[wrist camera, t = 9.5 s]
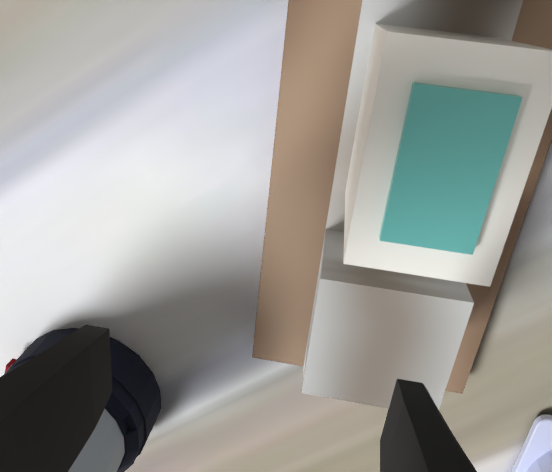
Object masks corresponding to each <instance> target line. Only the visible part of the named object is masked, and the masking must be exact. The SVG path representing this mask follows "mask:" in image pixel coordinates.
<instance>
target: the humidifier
mask: <svg viewBox="0 0 552 472" xmlns="http://www.w3.org/2000/svg"><path fill="white" fill-rule="evenodd" d="M77 330H78V329H76V328H70V329H62V330H55V331H51V332H49V333H47V334H45V335H43V336H41V337H39V338H37V339H36V340H35V341H34V342H33V343H32V344H31V345H30V346H29V347H28V348H27V349H26V350H25V352H24V353H23V354H22V355H21V356H20V357H19V358H18V359H17V360H16V359H12V360H11V361H10V362H9V363H8V364H7V365H6V369H5V374H7V373H8V372H10V371H12V370H14V369H15V368H17V367H18V366H20V365H22V364H23V363H25V362H27V361H28V360H30V359H32V358H33V357H35V356H36V355H38V354H40V353H41V352H43V351H45V350H46V349H48V348H49V347H51V346H53V345H54V344H56V343H57V342H59V341H60V340H62V339H64V338H65V337H67V336H68V335H70V334H72V333H73V332H75V331H77ZM109 338H110V337H109ZM110 355H111V373H112V393H111V395H110V398H109V400H108V402H107V404H106V407H105V409H104V411H103V413H102V415H101V417H100V419H99V421H98V423H97V425H96V428H95V429H94V431H93V433H92V434H91V436H90V438H89V439H88V441H87V442H86V444H85V446H84V447H83V449H82V450H81V452H80V454H79V455H78V457H77V458H76V460H75V462H74V463H73V465H72V466H71V468H70V469H69V471H68V472H124V471H125V470H127V469H128V468H129V467H130V466H131V465H132V464H133V463H134V461H135V459H136V457H137V456H138V455H139V454H140V453H141V451H142V449H143V447H144V445H145V443H146V441H147V438H148V436H149V434H150V432H151V430H152V428H153V426H154V424H155V421H156V419H157V416H158V414H159V412H160V409H161V395H160V389H159V387H158V384H157V382H156V379H155V377H154V374H153V372H152V371H151V370H150V369H149V368H148V366H147V365H146V364H145V363H144V361H143V360H142V359H141V358H140V357H139V355H137V354H136V353H135V352H133V351H132V350H130V349H129V348H128V347H126V346H125V345H124V344H122V343H121V342H120V341H117V340H115V339H113V338H110ZM5 374H4V375H5Z"/></svg>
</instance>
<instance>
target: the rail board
mask: <svg viewBox="0 0 552 472" xmlns="http://www.w3.org/2000/svg"><path fill="white" fill-rule="evenodd" d="M375 23H376V24H385V25H393V26H402V27H410V28H419V29H427V30H436V31H444V32H452V33H461V34H469V35H478V36H486V37H495V38H500V39H505V40H510V41H515V42H519V43H524V44H529V45H533V46H538V47H543V48H547V49H552V0H289V2H288V12H287V22H286V31H285V41H284V51H283V61H282V71H281V80H280V90H279V100H278V110H277V120H276V129H275V139H274V149H273V159H272V168H271V178H270V188H269V198H268V208H267V217H266V227H265V237H264V247H263V257H262V266H261V276H260V286H259V296H258V306H257V315H256V325H255V335H254V345H253V354H252V357H253V358H259V359H265V360H271V361H277V362H282V363H288V364H294V365H300V366H303V373H304V377H303V385H302V393H304V394H310V395H316V396H321V397H327V398H332V399H338V400H344V401H349V402H355V403H361V404H366V405H372V406H378V407H383V408H389V406H390V402H391V399H392V395H393V391H394V388H395V384H396V380H397V379H403V380H408V381H414V382H420V383H423V384H424V385H425V387H426V388H427V390H428V392H429V394H430V396H431V397H432V399H433V401H434V403H435V405H436V406H437V408H438V410H439V408H440V405H441V402H442V399H443V396H444V393H445V391H450V392H456V393H463V390H464V388H465V385H466V382H467V379H468V376H469V373H470V371H471V368H472V365H473V362H474V359H475V356H476V354H477V351H478V348H479V345H480V342H481V339H482V337H483V334H484V331H485V328H486V325H487V322H488V319H489V317H490V314H491V311H492V308H493V305H494V302H495V300H496V297H497V294H498V291H499V288H500V285H501V283H502V280H503V277H504V274H505V271H506V268H507V266H508V263H509V260H510V257H511V254H512V251H513V248H514V246H515V243H516V240H517V237H518V234H519V231H520V229H521V226H522V223H523V220H524V217H525V214H526V212H527V209H528V206H529V203H530V200H531V197H532V195H533V192H534V189H535V186H536V183H537V180H538V177H539V175H540V172H541V169H542V166H543V163H544V160H545V158H546V155H547V152H548V149H549V146H550V143H551V141H552V108H551V111H550V114H549V117H548V120H547V123H546V126H545V129H544V132H543V135H542V137H541V140H540V143H539V146H538V149H537V152H536V155H535V158H534V161H533V164H532V166H531V169H530V172H529V175H528V178H527V181H526V184H525V187H524V190H523V193H522V195H521V198H520V201H519V204H518V207H517V210H516V213H515V216H514V219H513V222H512V225H511V227H510V230H509V233H508V236H507V239H506V242H505V245H504V248H503V251H502V254H501V256H500V259H499V262H498V265H497V268H496V271H495V274H494V277H493V280H492V283H491V285H490V287H488V286H482V285H475V284H469V283H463V282H456V281H450V280H444V279H437V278H431V277H425V276H418V275H412V274H405V273H399V272H393V271H386V270H380V269H374V268H367V267H361V266H355V265H348V264H343V258H344V222H345V190H346V184H347V179H348V173H349V167H350V162H351V156H352V150H353V145H354V139H355V133H356V128H357V122H358V116H359V111H360V105H361V99H362V94H363V88H364V82H365V77H366V71H367V65H368V60H369V54H370V48H371V43H372V37H373V31H374V26H375Z"/></svg>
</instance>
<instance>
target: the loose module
mask: <svg viewBox="0 0 552 472" xmlns="http://www.w3.org/2000/svg"><path fill="white" fill-rule="evenodd" d="M551 108H552V49H547V48H543V47H538V46H533V45H529V44H524V43H519V42H515V41H510V40H505V39H500V38H495V37H486V36H478V35H469V34H461V33H452V32H444V31H436V30H427V29H419V28H410V27H402V26H393V25H385V24H376V23H375V26H374V31H373V37H372V43H371V48H370V54H369V60H368V65H367V71H366V77H365V82H364V88H363V94H362V99H361V105H360V111H359V116H358V122H357V128H356V133H355V139H354V145H353V150H352V156H351V162H350V167H349V173H348V179H347V184H346V190H345V222H344V258H343V264H348V265H355V266H361V267H367V268H374V269H380V270H386V271H393V272H399V273H405V274H412V275H418V276H425V277H431V278H437V279H444V280H450V281H456V282H463V283H469V284H475V285H482V286H488V287H490V285H491V283H492V280H493V277H494V274H495V271H496V268H497V265H498V262H499V259H500V256H501V254H502V251H503V248H504V245H505V242H506V239H507V236H508V233H509V230H510V227H511V225H512V222H513V219H514V216H515V213H516V210H517V207H518V204H519V201H520V198H521V195H522V193H523V190H524V187H525V184H526V181H527V178H528V175H529V172H530V169H531V166H532V164H533V161H534V158H535V155H536V152H537V149H538V146H539V143H540V140H541V137H542V135H543V132H544V129H545V126H546V123H547V120H548V117H549V114H550V111H551Z"/></svg>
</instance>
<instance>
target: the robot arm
mask: <svg viewBox="0 0 552 472" xmlns="http://www.w3.org/2000/svg"><path fill="white" fill-rule="evenodd" d="M111 393H112V373H111V355H110V338H109V329H107V328H101V327H95V326H89V325H85V326H83V327H82V328H80V329H78V330H77V331H75V332H73V333H72V334H70V335H68V336H67V337H65V338H64V339H62V340H60V341H59V342H57V343H56V344H54V345H53V346H51V347H49V348H48V349H46V350H45V351H43V352H41V353H40V354H38V355H36V356H35V357H33V358H32V359H30V360H28V361H27V362H25V363H23V364H22V365H20V366H18V367H17V368H15V369H14V370H12V371H10V372H8V373H7V374H5V375H3V376H1V377H0V472H68V471H69V469H70V468H71V466H72V465H73V463H74V462H75V460H76V458H77V457H78V455H79V454H80V452H81V450H82V449H83V447H84V446H85V444H86V442H87V441H88V439H89V438H90V436H91V434H92V433H93V431H94V429H95V428H96V425H97V423H98V421H99V419H100V417H101V415H102V413H103V411H104V409H105V407H106V404H107V402H108V400H109V398H110V395H111ZM380 472H477V471H476V470H475V468H474V467H473V465H472V464H471V462H470V460H469V459H468V457H467V456H466V454H465V453H464V451H463V450H462V448H461V446H460V445H459V443H458V442H457V440H456V439H455V437H454V435H453V434H452V432H451V430H450V429H449V427H448V425H447V424H446V422H445V420H444V419H443V417H442V415H441V413H440V412H439V410H438V408H437V406H436V405H435V403H434V401H433V399H432V397H431V396H430V394H429V392H428V390H427V388H426V387H425V385H424V384H423V383H420V382H414V381H408V380H403V379H397V380H396V384H395V388H394V391H393V395H392V399H391V402H390V406H389V410H388V413H387V417H386V421H385V425H384V428H383V432H382V436H381V439H380ZM511 472H552V415H540V416H538V417H537V418H536V419H535V420H534V422H533V425H532V427H531V429H530V431H529V433H528V436H527V438H526V440H525V442H524V445H523V447H522V449H521V451H520V453H519V456H518V458H517V460H516V462H515V465H514V467H513V469H512V471H511Z"/></svg>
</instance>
